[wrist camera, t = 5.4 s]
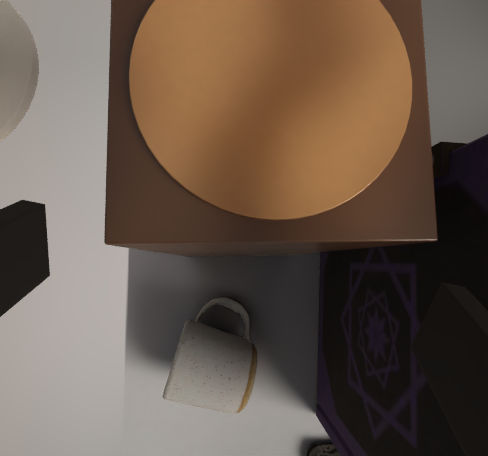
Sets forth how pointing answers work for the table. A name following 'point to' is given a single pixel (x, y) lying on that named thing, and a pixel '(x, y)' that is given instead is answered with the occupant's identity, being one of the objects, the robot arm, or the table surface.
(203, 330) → the ceramic mug
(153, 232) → the brown square coaster
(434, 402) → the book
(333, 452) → the folding knife
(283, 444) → the table surface
